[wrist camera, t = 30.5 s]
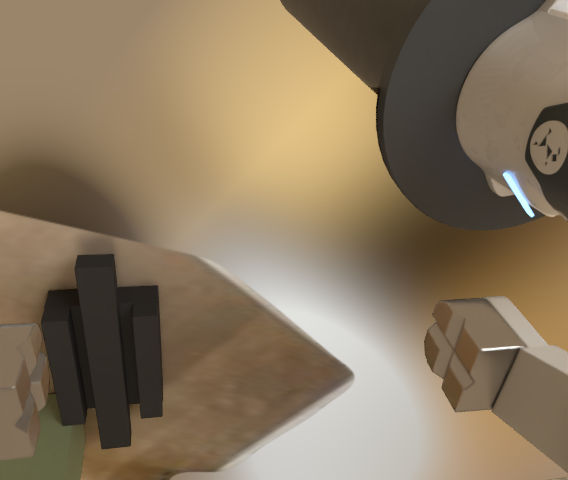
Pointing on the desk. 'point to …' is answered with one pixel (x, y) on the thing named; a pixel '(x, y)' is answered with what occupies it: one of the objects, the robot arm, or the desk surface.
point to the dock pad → (74, 360)
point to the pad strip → (104, 347)
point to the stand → (50, 450)
